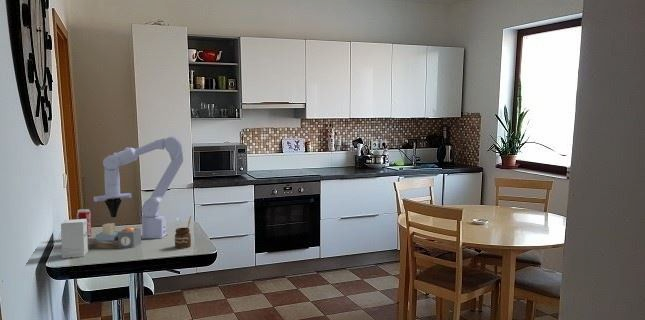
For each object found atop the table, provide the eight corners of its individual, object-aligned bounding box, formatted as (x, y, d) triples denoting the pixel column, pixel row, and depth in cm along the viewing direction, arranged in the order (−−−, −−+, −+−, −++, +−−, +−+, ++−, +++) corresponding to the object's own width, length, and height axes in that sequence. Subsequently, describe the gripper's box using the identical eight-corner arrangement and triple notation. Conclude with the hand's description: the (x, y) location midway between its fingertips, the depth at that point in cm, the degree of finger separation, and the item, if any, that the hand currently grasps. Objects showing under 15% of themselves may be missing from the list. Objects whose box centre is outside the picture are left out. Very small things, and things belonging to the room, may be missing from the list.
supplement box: (84, 256, 165) (83, 221, 165) (61, 258, 163) (59, 223, 162) (88, 251, 172) (87, 218, 172) (66, 253, 170) (65, 219, 170)
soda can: (85, 239, 193) (84, 211, 192) (74, 239, 194) (73, 210, 193) (94, 236, 198) (93, 209, 197) (83, 236, 199) (82, 208, 198)
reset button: (135, 232, 183) (135, 227, 183) (132, 234, 180) (131, 229, 179) (126, 232, 183) (126, 227, 183) (122, 234, 180) (122, 229, 179)
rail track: (126, 243, 186) (126, 231, 185) (117, 247, 178) (117, 236, 177) (84, 243, 186) (83, 232, 185) (73, 248, 178) (73, 236, 177)
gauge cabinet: (140, 243, 185) (140, 228, 185) (133, 247, 178) (132, 232, 177) (125, 243, 185) (125, 228, 185) (117, 247, 178) (117, 232, 177)
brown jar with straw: (176, 245, 181) (175, 214, 181) (193, 244, 182) (192, 214, 181) (173, 248, 175) (172, 217, 175) (190, 248, 176) (189, 217, 175)
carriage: (122, 236, 185) (121, 222, 185) (114, 240, 178) (113, 225, 178) (104, 236, 185) (104, 222, 185) (96, 240, 178) (95, 226, 178)
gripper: (97, 186, 183) (99, 220, 184) (133, 183, 194) (134, 215, 194) (91, 185, 188) (92, 218, 189) (126, 182, 199) (127, 213, 199)
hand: (113, 216), depth 192 cm, fingers closed
